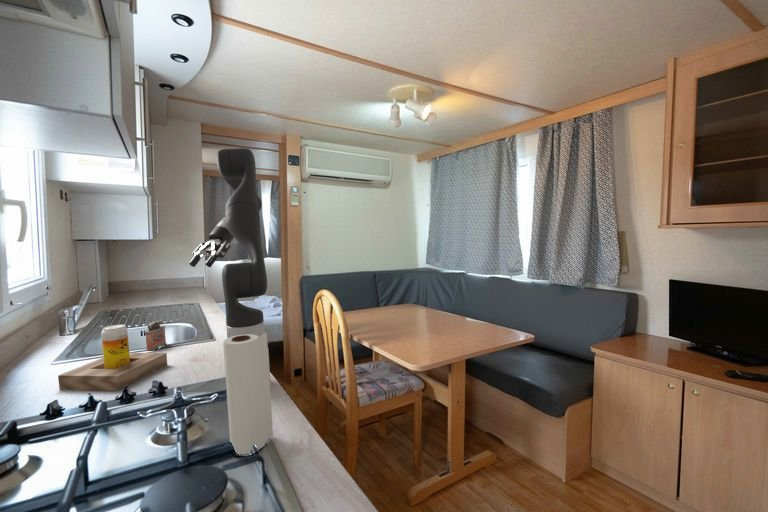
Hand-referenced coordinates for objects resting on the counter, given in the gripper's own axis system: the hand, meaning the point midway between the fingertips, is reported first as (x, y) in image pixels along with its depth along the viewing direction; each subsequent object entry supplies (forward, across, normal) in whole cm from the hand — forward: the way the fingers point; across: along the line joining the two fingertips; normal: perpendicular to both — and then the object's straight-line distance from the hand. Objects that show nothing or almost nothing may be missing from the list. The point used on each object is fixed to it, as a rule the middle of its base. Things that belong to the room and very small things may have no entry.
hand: (199, 265), depth 122 cm
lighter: (+25, -21, +19) cm, 38 cm away
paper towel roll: (+46, +60, -2) cm, 76 cm away
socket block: (+39, -5, +4) cm, 40 cm away
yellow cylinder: (+39, -5, +4) cm, 40 cm away
